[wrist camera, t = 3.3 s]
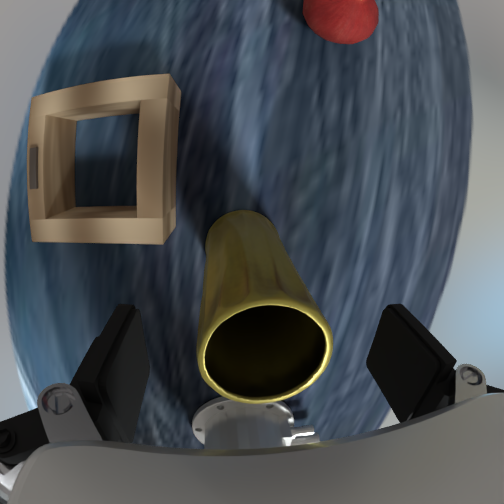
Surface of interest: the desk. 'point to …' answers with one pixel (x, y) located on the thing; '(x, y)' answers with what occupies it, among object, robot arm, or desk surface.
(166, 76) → the wooden box
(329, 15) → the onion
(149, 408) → the desk surface
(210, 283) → the vase
